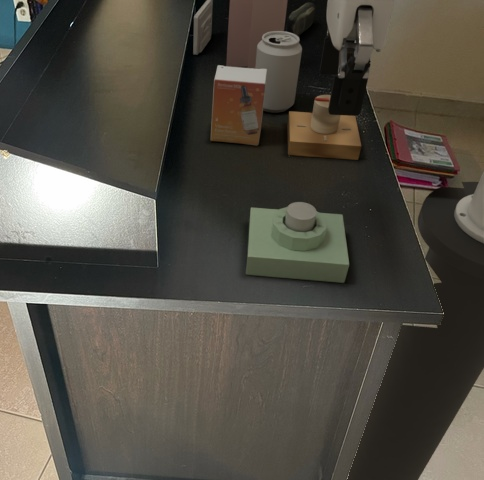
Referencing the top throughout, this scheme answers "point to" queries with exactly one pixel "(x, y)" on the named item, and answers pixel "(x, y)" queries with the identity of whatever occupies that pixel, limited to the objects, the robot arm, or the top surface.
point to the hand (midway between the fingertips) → (338, 92)
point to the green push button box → (296, 247)
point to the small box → (238, 104)
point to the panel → (322, 138)
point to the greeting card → (251, 28)
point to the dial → (323, 116)
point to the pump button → (300, 217)
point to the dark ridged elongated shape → (301, 19)
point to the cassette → (202, 27)
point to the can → (279, 68)
